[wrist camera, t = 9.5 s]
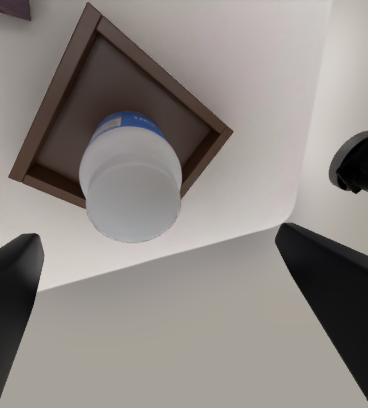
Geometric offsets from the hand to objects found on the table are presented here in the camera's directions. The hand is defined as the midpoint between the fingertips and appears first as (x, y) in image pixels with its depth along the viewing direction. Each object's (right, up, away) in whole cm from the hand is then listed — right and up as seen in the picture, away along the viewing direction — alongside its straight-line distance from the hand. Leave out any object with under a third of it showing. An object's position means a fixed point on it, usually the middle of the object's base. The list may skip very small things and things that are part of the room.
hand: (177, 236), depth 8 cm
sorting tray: (-4, +6, +10) cm, 12 cm away
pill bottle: (-4, +6, +9) cm, 12 cm away
